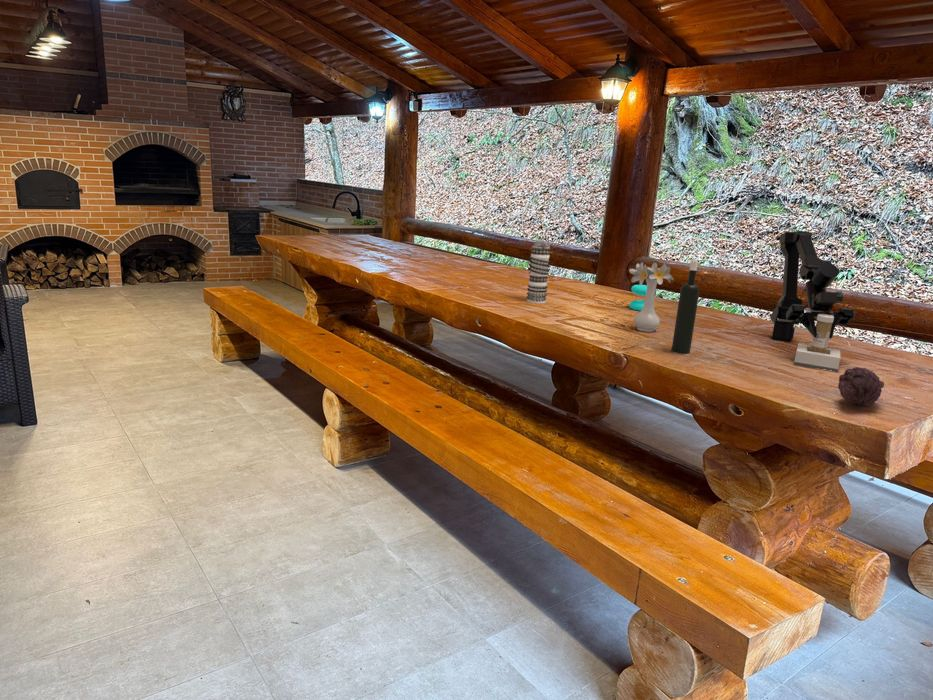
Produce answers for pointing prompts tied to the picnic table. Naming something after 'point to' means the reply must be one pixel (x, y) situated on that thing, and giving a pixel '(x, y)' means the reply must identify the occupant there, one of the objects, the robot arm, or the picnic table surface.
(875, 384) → the pine cone
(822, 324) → the sprinkles bottle
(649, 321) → the flower vase
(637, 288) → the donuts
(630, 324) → the picnic table surface
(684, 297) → the wine bottle
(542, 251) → the decorative candle
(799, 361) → the socket block
